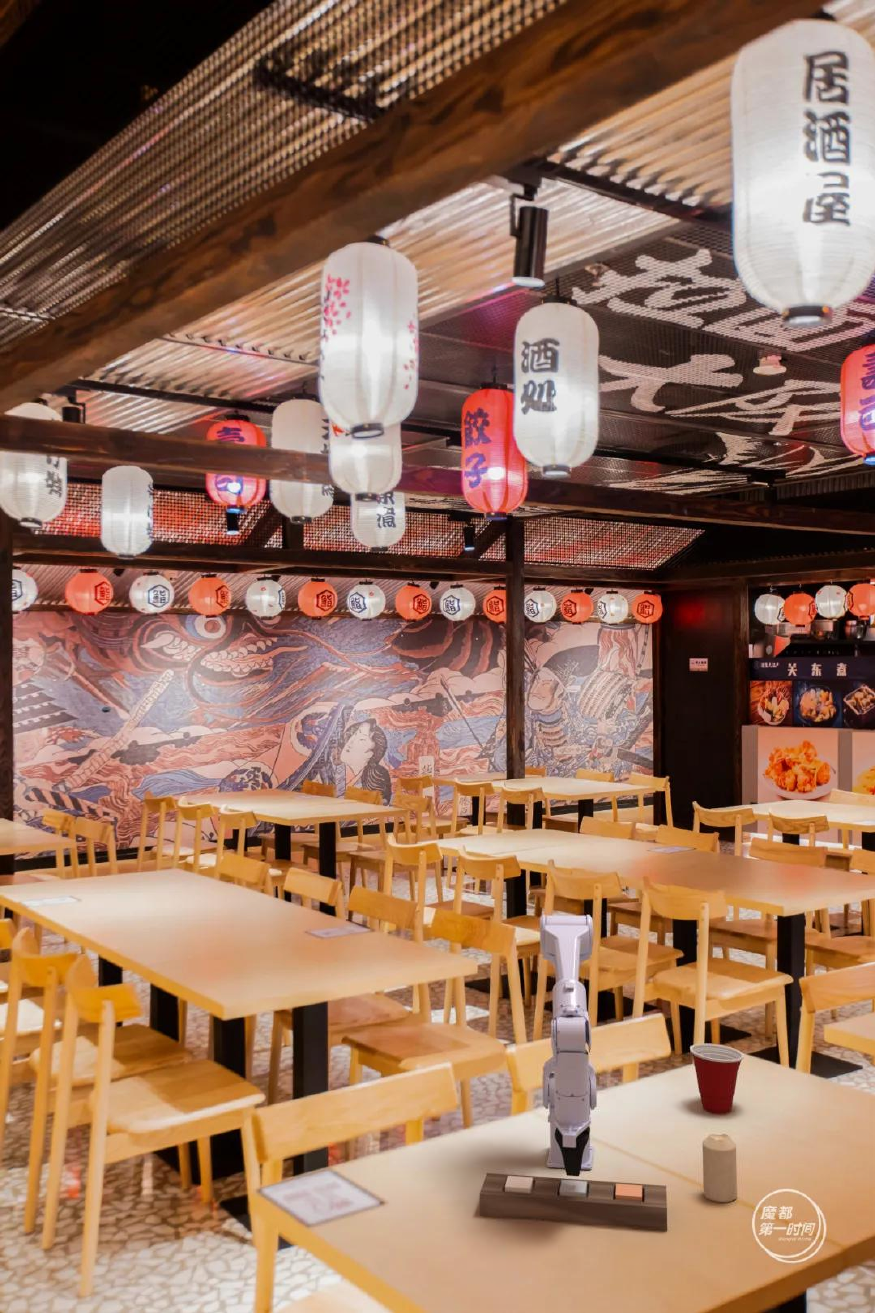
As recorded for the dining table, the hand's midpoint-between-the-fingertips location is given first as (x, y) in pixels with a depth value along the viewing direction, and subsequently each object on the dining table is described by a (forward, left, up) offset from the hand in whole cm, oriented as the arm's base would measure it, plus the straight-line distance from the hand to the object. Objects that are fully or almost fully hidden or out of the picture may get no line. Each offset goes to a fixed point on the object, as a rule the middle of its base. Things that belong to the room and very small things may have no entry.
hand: (573, 1174), depth 179 cm
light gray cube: (0, 0, -5) cm, 5 cm away
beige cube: (0, -9, -5) cm, 10 cm away
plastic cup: (-50, +26, -6) cm, 57 cm away
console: (0, 0, -6) cm, 6 cm away
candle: (-10, +24, -6) cm, 27 cm away
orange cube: (0, +9, -5) cm, 10 cm away
